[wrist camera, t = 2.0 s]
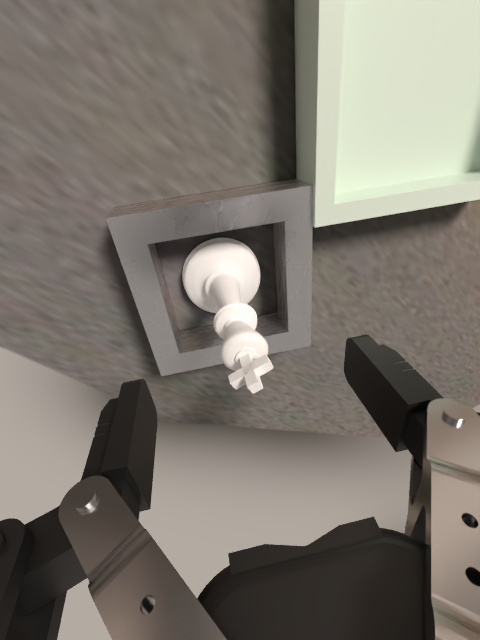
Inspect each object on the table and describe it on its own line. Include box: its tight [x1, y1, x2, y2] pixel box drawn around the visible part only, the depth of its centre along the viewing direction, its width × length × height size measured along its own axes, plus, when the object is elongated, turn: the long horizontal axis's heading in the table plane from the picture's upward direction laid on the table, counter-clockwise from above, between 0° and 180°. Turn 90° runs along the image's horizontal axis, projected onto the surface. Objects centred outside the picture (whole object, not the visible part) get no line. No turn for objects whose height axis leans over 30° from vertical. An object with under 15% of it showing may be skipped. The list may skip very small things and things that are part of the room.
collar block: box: [106, 179, 313, 376], centre depth 18 cm, size 10×10×2 cm
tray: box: [294, 0, 480, 228], centre depth 14 cm, size 12×12×3 cm
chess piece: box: [182, 238, 273, 394], centre depth 15 cm, size 5×5×10 cm
